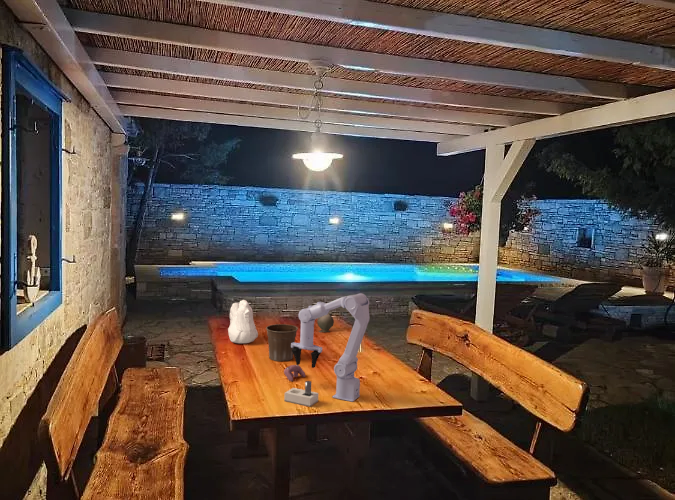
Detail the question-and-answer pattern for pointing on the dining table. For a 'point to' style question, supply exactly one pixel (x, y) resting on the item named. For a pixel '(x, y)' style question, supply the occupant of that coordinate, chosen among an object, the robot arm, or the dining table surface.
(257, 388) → the dining table surface
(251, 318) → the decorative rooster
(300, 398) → the bore block
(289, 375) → the video game controller
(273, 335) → the plant pot
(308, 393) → the pin
